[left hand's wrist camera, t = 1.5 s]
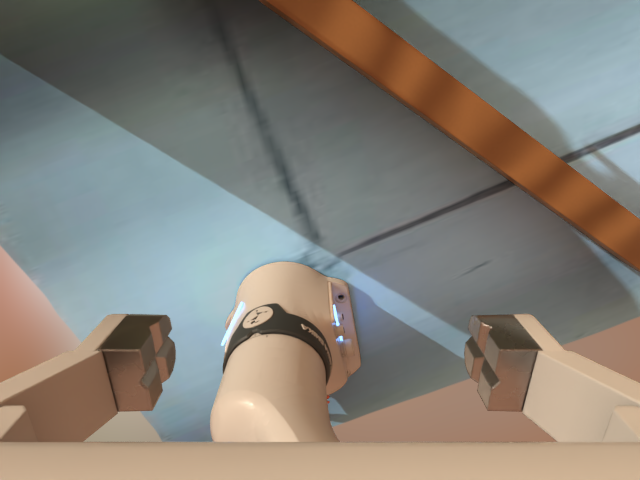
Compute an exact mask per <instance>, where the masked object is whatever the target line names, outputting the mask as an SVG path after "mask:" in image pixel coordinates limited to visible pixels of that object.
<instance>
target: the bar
mask: <svg viewBox="0 0 640 480" xmlns="http://www.w3.org/2000/svg"><path fill="white" fill-rule="evenodd" d="M258 1H260V2H261V3H263V4H264V5H265V6H267V7H268V8H270V9H271V10H272V11H274V12H275V13H276V14H278V15H279V16H281V17H282V18H283V19H285V20H286V21H288V22H289V23H290V24H292V25H293V26H295V27H296V28H297V29H299V30H300V31H302V32H303V33H304V34H306V35H307V36H309V37H310V38H311V39H313V40H314V41H316V42H317V43H318V44H320V45H321V46H322V47H324V48H325V49H327V50H328V51H329V52H331V53H332V54H334V55H335V56H336V57H338V58H339V59H341V60H342V61H343V62H345V63H346V64H348V65H349V66H350V67H352V68H353V69H355V70H356V71H357V72H359V73H360V74H362V75H363V76H364V77H366V78H367V79H369V80H370V81H371V82H373V83H374V84H375V85H377V86H378V87H380V88H381V89H382V90H384V91H385V92H387V93H388V94H389V95H391V96H392V97H394V98H395V99H396V100H398V101H399V102H401V103H402V104H403V105H405V106H406V107H408V108H409V109H410V110H412V111H413V112H415V113H416V114H417V115H419V116H420V117H422V118H423V119H424V120H426V121H427V122H428V123H430V124H431V125H433V126H434V127H435V128H437V129H438V130H440V131H441V132H442V133H444V134H445V135H447V136H448V137H449V138H451V139H452V140H454V141H455V142H456V143H458V144H459V145H461V146H462V147H463V148H465V149H466V150H468V151H469V152H470V153H472V154H473V155H474V156H476V157H477V158H479V159H480V160H481V161H483V162H484V163H486V164H487V165H488V166H490V167H491V168H493V169H494V170H495V171H497V172H498V173H500V174H501V175H502V176H504V177H505V178H507V179H508V180H509V181H511V182H512V183H514V184H515V185H516V186H518V187H519V188H521V189H522V190H523V191H525V192H526V193H527V194H529V195H530V196H532V197H533V198H534V199H536V200H537V201H539V202H540V203H541V204H543V205H544V206H546V207H547V208H548V209H550V210H551V211H553V212H554V213H555V214H557V215H558V216H560V217H561V218H562V219H564V220H565V221H567V222H568V223H569V224H571V225H572V226H574V227H575V228H576V229H578V230H579V231H580V232H582V233H583V234H585V235H586V236H587V237H589V238H590V239H592V240H593V241H594V242H596V243H597V244H599V245H600V246H601V247H603V248H604V249H606V250H607V251H608V252H610V253H611V254H613V255H614V256H615V257H617V258H618V259H620V260H621V261H622V262H624V263H626V264H627V265H629V266H631V267H632V268H634V269H635V270H637V271H639V272H640V219H639V218H637V217H636V216H635V215H633V214H632V213H631V212H629V211H628V210H627V209H626V208H624V207H623V206H622V205H620V204H619V203H618V202H616V201H615V200H614V199H612V198H611V197H610V196H608V195H607V194H606V193H605V192H603V191H602V190H601V189H599V188H598V187H597V186H595V185H594V184H593V183H591V182H590V181H589V180H587V179H586V178H585V177H584V176H582V175H581V174H580V173H578V172H577V171H576V170H574V169H573V168H572V167H570V166H569V165H568V164H566V163H565V162H564V161H562V160H561V159H560V158H559V157H557V156H556V155H555V154H553V153H552V152H551V151H549V150H548V149H547V148H545V147H544V146H543V145H541V144H540V143H539V142H538V141H536V140H535V139H534V138H532V137H531V136H530V135H528V134H527V133H526V132H524V131H523V130H522V129H520V128H519V127H518V126H517V125H515V124H514V123H513V122H511V121H510V120H509V119H507V118H506V117H505V116H503V115H502V114H501V113H499V112H498V111H497V110H496V109H494V108H493V107H492V106H490V105H489V104H488V103H486V102H485V101H484V100H482V99H481V98H480V97H478V96H477V95H476V94H475V93H473V92H472V91H471V90H469V89H468V88H467V87H465V86H464V85H463V84H461V83H460V82H459V81H457V80H456V79H455V78H453V77H452V76H451V75H450V74H448V73H447V72H446V71H444V70H443V69H442V68H440V67H439V66H438V65H436V64H435V63H434V62H432V61H431V60H430V59H429V58H427V57H426V56H425V55H423V54H422V53H421V52H419V51H418V50H417V49H415V48H414V47H413V46H411V45H410V44H409V43H408V42H406V41H405V40H404V39H402V38H401V37H400V36H398V35H397V34H396V33H394V32H393V31H392V30H390V29H389V28H388V27H387V26H385V25H384V24H383V23H381V22H380V21H379V20H377V19H376V18H375V17H373V16H372V15H371V14H369V13H368V12H367V11H366V10H364V9H363V8H362V7H360V6H359V5H358V4H356V3H355V2H354V1H352V0H258Z"/></svg>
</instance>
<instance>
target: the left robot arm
mask: <svg viewBox="0 0 640 480" xmlns="http://www.w3.org/2000/svg"><path fill="white" fill-rule="evenodd" d="M339 295H343V297H338V296H339ZM225 328H226V330H227V333H226V335H225V337H224V339H223V341H222V344H221V345H224V343H225V341H226V339H227V343H226V348H225V356H224V363H223V377H222V380H221V383H220V386H219V390H218V393H217V396H216V399H215V402H214V405H213V408H212V412H211V417H210V428H211V435H212V439H213V442H83V441H84V440H86V439H87V438H88V437H89V436H90V435H92V434H93V433H94V432H95V431H97V430H98V429H99V428H100V427H102V426H103V425H104V424H105V423H107V422H108V421H109V420H110V419H111V418H113V417H114V416H115V415H116V414H117V413H118V412H120V411H152V410H153V408H154V407H155V405H156V403H157V401H158V399H159V397H160V395H161V393H162V391H163V389H162V384H161V383H163V382H164V381H166V380H167V379H169V378H170V375H171V373H172V371H173V368H174V364H175V359H176V350H175V343H174V342H173V341H172V340H171V339H170V338H169V337H168V335H169V333H170V331H171V330H172V326H171V322H170V318H169V317H168V316H167V315H147V314H130V315H129V314H111V315H107V316H106V317H105V318H104V319H103V321H102V322H101V323H100V324H99V325H98V326H97V327H96V328H95V329H94V330H93V331H92V332H91V333H90V334H89V336H88V337H87V338H86V339H85V340H84V341H83V342H82V343H81V344H80V345H79V346H78V347H77V348H76V350H75V351H67V352H65V353H63V354H60V355H58V356H56V357H54V358H52V359H50V360H48V361H46V362H44V363H41V364H39V365H37V366H35V367H33V368H31V369H29V370H27V371H24V372H22V373H20V374H18V375H16V376H14V377H12V378H10V379H8V380H6V381H3V382H1V383H0V480H640V383H639V382H637V381H634V380H632V379H630V378H628V377H626V376H624V375H622V374H620V373H617V372H615V371H613V370H611V369H609V368H607V367H605V366H603V365H601V364H599V363H596V362H594V361H592V360H590V359H588V358H586V357H584V356H582V355H580V354H577V353H575V352H573V351H565V349H564V348H563V347H562V346H561V345H560V344H559V343H558V342H557V341H556V340H555V339H554V338H553V337H552V336H551V334H550V333H549V332H548V331H547V330H546V329H545V328H544V327H543V326H542V325H541V324H540V323H539V322H538V320H537V319H536V318H535V317H534V316H532V315H530V314H510V315H473V316H472V317H471V319H470V321H469V326H468V330H469V331H470V333H471V335H472V337H471V338H470V339H469V340H468V341H467V342H466V344H465V351H464V356H465V365H466V368H467V371H468V373H469V375H470V378H471V379H473V380H474V381H476V382H477V383H479V384H478V389H477V391H478V393H479V395H480V397H481V399H482V401H483V403H484V405H485V406H486V408H487V410H488V411H519V412H520V411H521V412H522V413H523V414H524V415H525V416H526V417H528V418H529V419H530V420H531V421H532V422H534V423H535V424H536V425H537V426H539V427H540V428H541V429H542V430H543V431H545V432H546V433H547V434H548V435H550V436H551V437H552V438H553V439H555V440H556V441H557V442H340V441H339V440H338V438H337V436H336V435H335V433H334V431H333V428H332V426H331V422H330V418H329V411H328V403H330V402H329V401H327V399H328V398H329V395H330V394H332V393H334V392H336V391H337V390H339V389H340V388H341V387H342V386H344V384H345V383H346V381H347V377H349V376H350V375H352V374H353V373H354V372H355V371H356V370H357V369H358V368H359V367H360V365H361V357H360V351H359V345H358V339H357V333H356V328H355V322H354V316H353V310H352V305H351V299H350V293H349V287H348V284H347V283H346V282H345V281H343V280H340V279H337V278H331V277H326V276H324V275H322V274H320V273H319V272H317V271H316V270H314V269H312V268H310V267H308V266H305V265H303V264H299V263H295V262H274V263H270V264H267V265H264V266H261V267H259V268H257V269H256V270H254V271H253V272H251V273H250V274H249V275H248V276H247V277H246V278H245V279H244V281H243V282H242V283H241V285H240V287H239V289H238V292H237V296H236V302H235V307H234V309H233V311H232V312H231V313H230V315H229V316H228V318H227V320H226V325H225Z"/></svg>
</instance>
